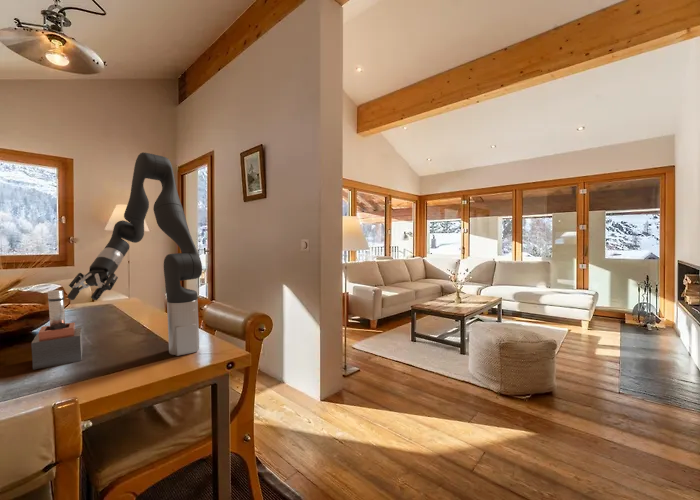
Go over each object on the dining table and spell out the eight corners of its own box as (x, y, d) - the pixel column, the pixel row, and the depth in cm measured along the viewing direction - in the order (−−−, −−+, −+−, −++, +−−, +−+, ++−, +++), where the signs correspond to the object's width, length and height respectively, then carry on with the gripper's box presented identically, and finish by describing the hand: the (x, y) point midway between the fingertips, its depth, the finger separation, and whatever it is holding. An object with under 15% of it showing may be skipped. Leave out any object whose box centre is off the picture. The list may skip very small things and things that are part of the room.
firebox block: (81, 360, 103) (79, 327, 102) (32, 369, 96) (30, 334, 95) (82, 350, 111) (80, 320, 111) (38, 358, 104) (36, 326, 104)
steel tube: (65, 335, 103) (63, 291, 102) (49, 337, 101) (46, 292, 100) (66, 332, 106) (64, 289, 105) (50, 334, 104) (48, 290, 103)
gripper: (82, 256, 120) (54, 292, 109) (119, 255, 119) (94, 292, 108) (95, 268, 126) (70, 304, 115) (130, 268, 125) (108, 305, 114)
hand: (82, 298), depth 112 cm, fingers open, 8 cm apart
